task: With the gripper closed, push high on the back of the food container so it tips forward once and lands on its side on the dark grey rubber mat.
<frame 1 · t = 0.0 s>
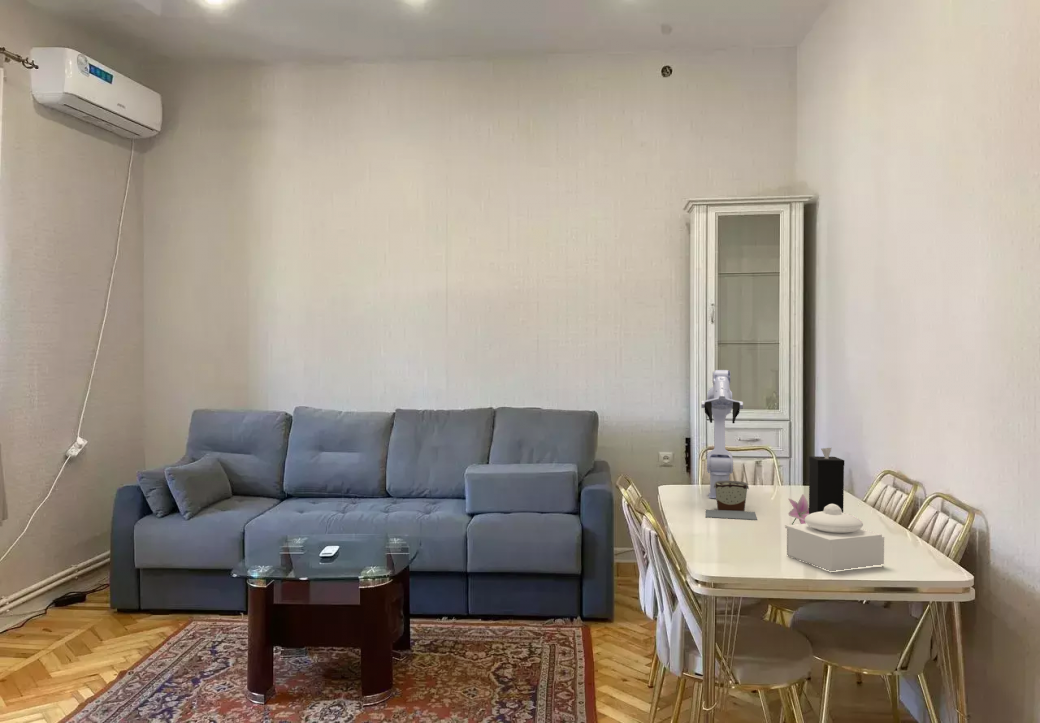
hand: (722, 421, 274), 32 cm above the table, tool tilted 50°, fingers open, 7 cm apart
lily: (802, 527, 252), on the table
butter dish: (833, 562, 212), on the table
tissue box: (825, 539, 237), on the table
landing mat: (730, 515, 270), on the table
food container: (729, 509, 279), on the table
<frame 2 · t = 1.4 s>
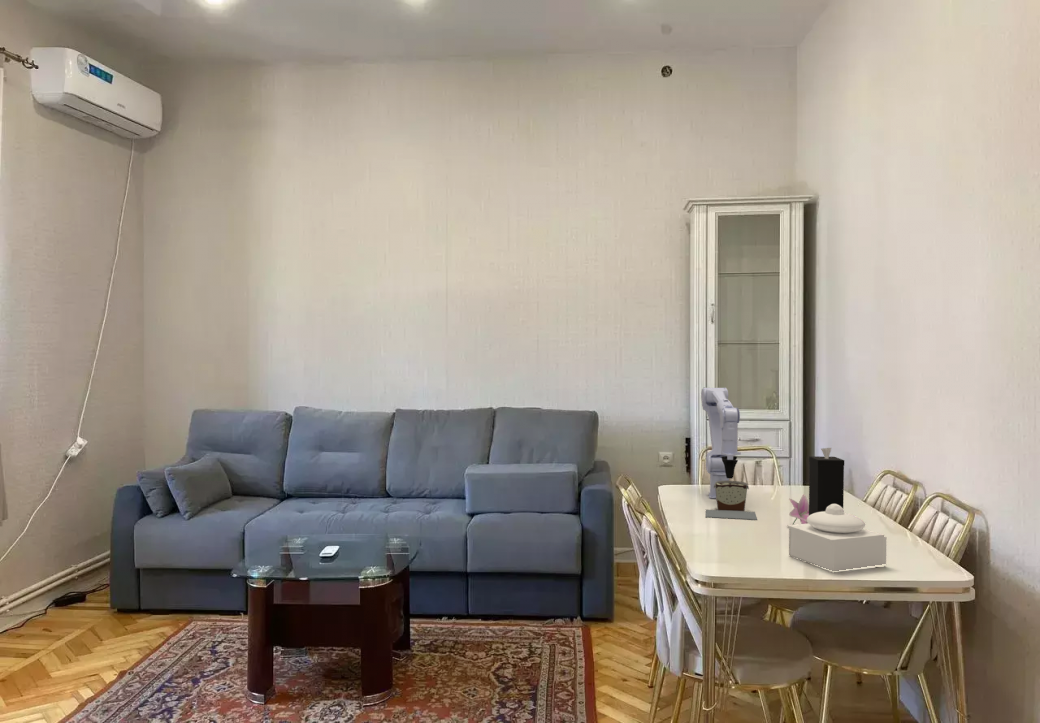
hand: (729, 477, 287), 10 cm above the table, tool pointing down, fingers open, 6 cm apart
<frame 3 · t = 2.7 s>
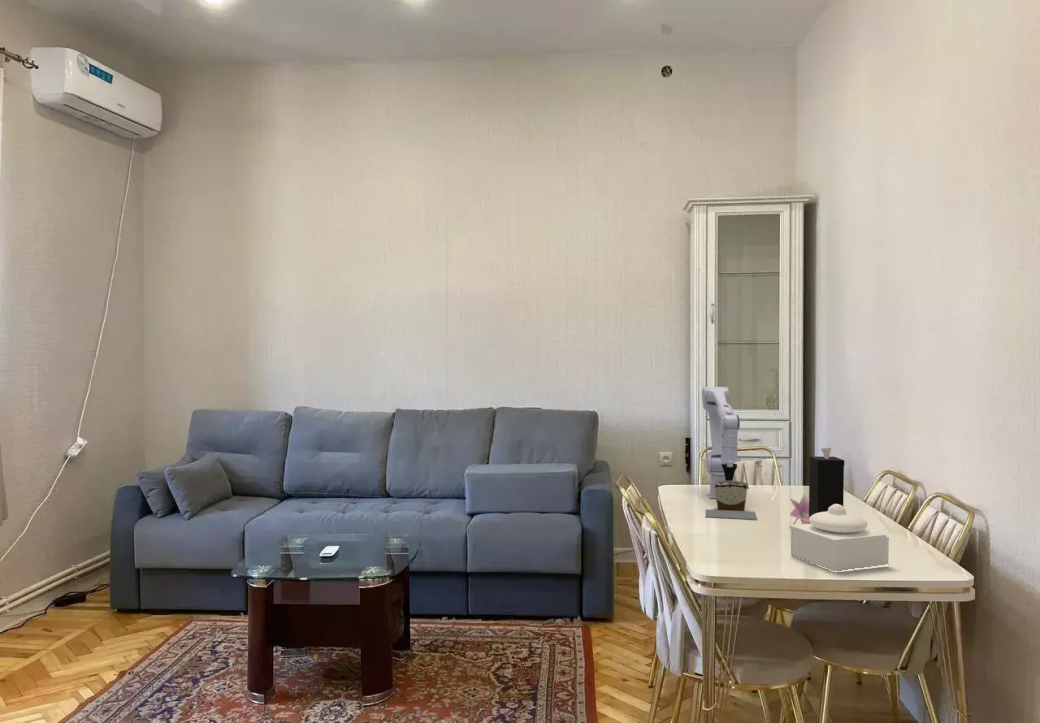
hand: (729, 483, 287), 8 cm above the table, tool pointing down, fingers closed
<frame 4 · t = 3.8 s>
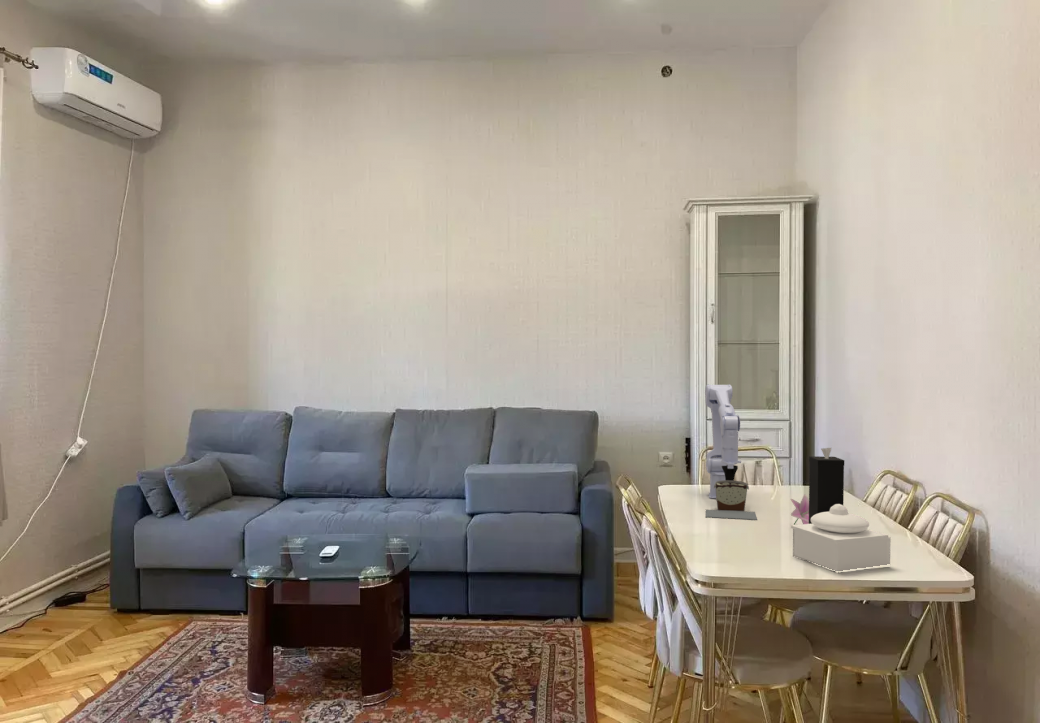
hand: (729, 485, 282), 8 cm above the table, tool pointing down, fingers closed
food container: (729, 509, 279), on the table, touching gripper
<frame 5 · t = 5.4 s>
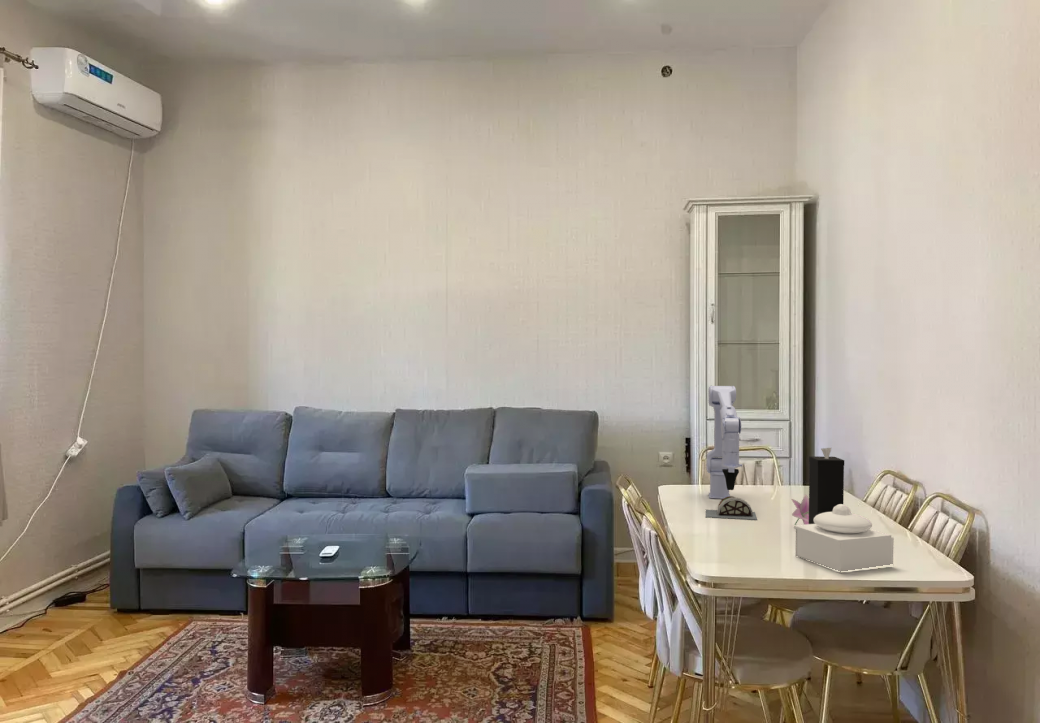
hand: (730, 489, 274), 8 cm above the table, tool pointing down, fingers closed
food container: (731, 501, 276), point 3 cm above the table, touching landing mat
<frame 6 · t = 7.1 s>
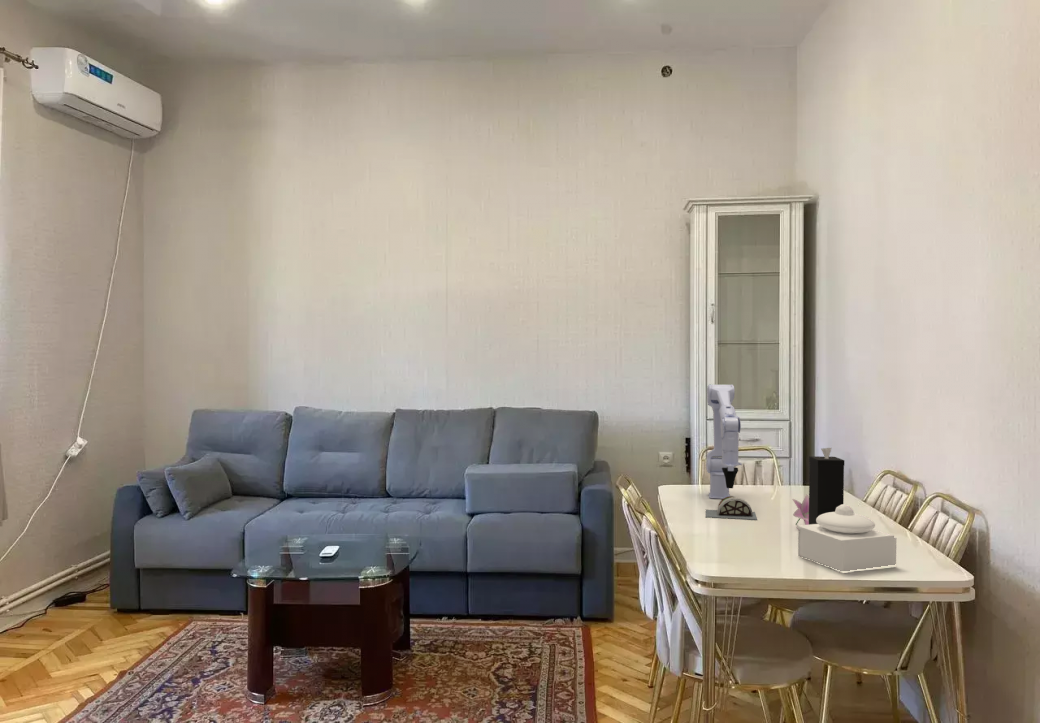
hand: (729, 488, 279), 8 cm above the table, tool pointing down, fingers closed
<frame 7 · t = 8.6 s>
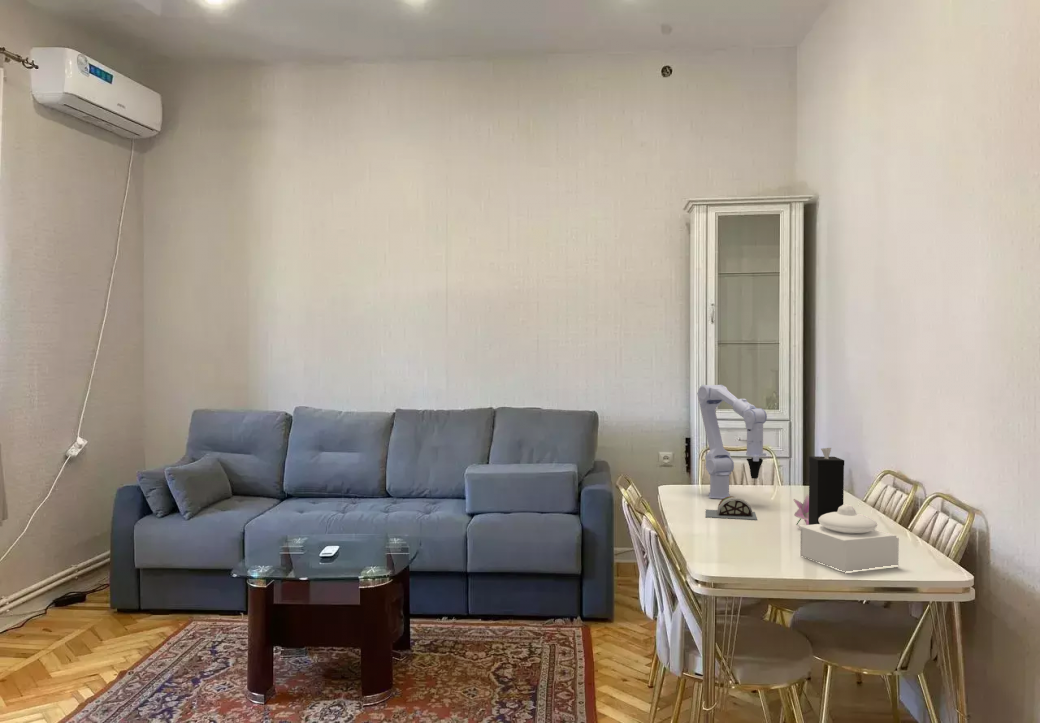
hand: (754, 478, 284), 10 cm above the table, tool pointing down, fingers closed
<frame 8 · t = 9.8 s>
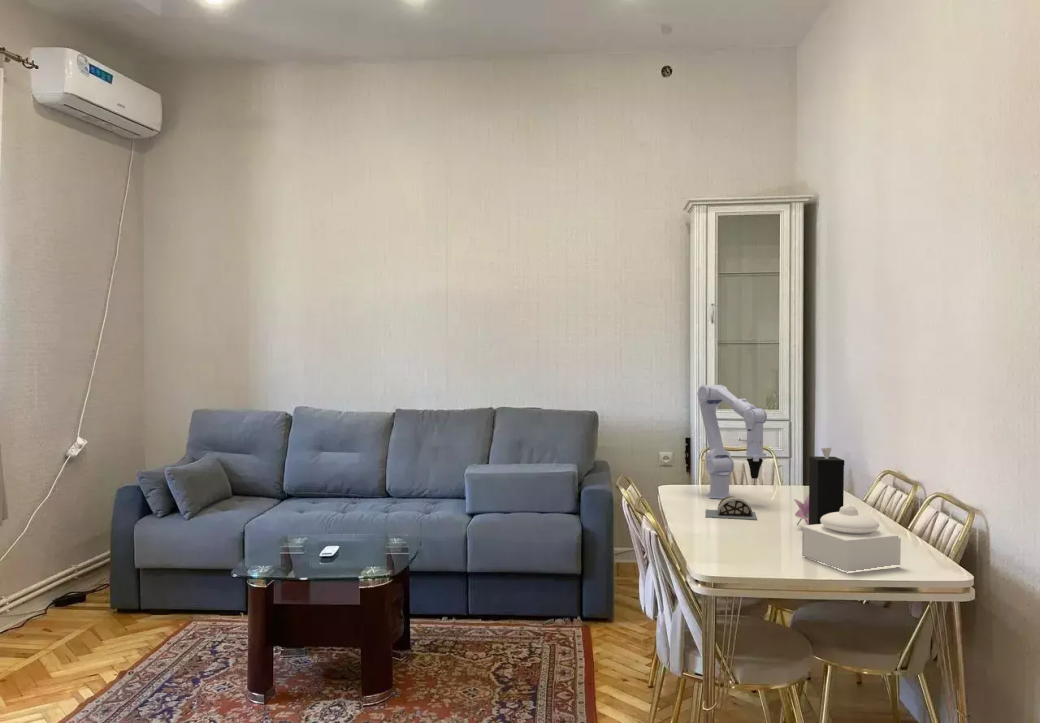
hand: (754, 478, 284), 10 cm above the table, tool pointing down, fingers closed
at the end: food container tilted 90°; food container inside the target area (2.7 cm from its centre), point 3.4 cm above the table; food container touching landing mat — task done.
